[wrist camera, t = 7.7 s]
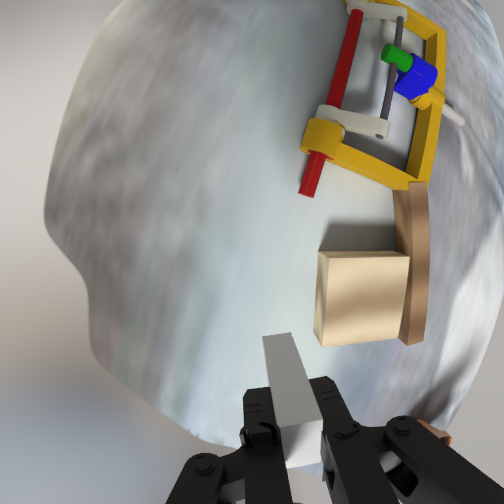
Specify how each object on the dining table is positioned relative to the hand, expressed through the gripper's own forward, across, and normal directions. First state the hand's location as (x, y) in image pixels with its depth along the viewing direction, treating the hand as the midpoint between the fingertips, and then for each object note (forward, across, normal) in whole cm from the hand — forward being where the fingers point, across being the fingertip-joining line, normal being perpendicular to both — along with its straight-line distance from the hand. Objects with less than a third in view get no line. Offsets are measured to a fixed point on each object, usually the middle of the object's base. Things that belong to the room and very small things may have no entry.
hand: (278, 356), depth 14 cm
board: (+15, +17, -1) cm, 23 cm away
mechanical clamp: (+15, +18, +18) cm, 30 cm away
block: (+15, +10, -3) cm, 18 cm away
